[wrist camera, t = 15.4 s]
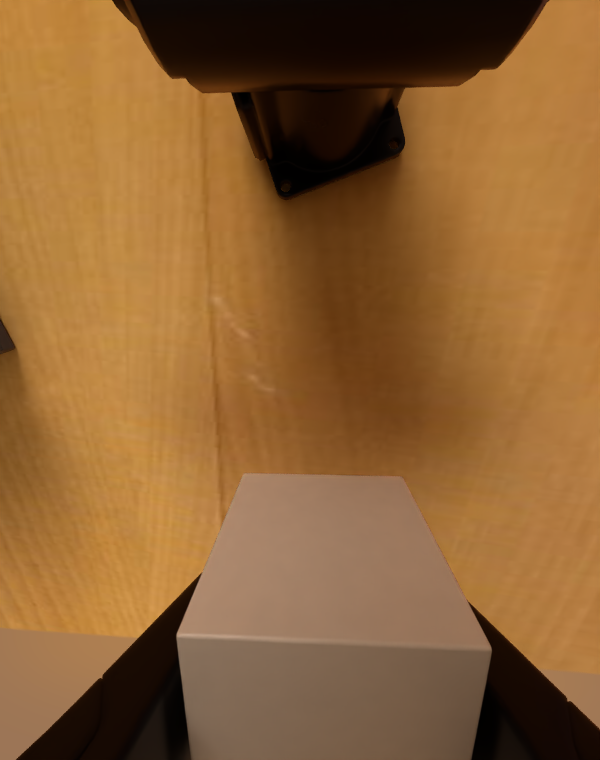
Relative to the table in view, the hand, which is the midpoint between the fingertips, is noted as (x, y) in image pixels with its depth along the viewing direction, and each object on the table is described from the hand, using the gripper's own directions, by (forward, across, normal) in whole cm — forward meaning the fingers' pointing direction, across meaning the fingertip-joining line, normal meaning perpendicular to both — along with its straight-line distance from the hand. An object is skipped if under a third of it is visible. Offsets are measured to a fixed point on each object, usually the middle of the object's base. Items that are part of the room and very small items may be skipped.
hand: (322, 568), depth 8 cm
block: (+1, 0, 0) cm, 1 cm away
